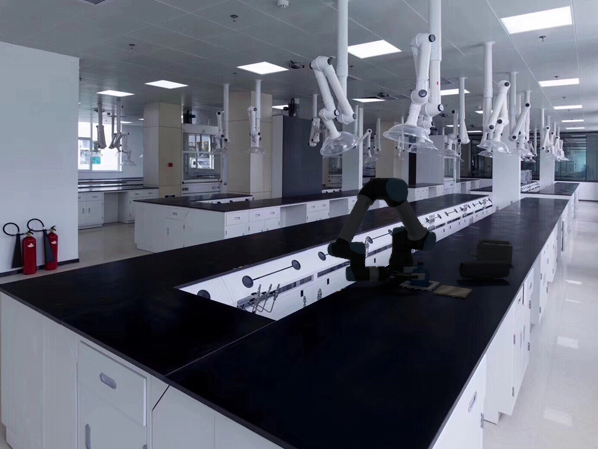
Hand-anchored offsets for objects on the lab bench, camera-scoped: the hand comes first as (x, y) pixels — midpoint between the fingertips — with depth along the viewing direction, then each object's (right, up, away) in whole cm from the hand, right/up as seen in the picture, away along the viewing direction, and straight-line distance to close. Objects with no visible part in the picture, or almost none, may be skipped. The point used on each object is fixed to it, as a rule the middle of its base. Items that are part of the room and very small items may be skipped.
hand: (420, 273), depth 216 cm
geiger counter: (+56, +1, +52) cm, 77 cm away
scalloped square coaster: (0, -6, +1) cm, 6 cm away
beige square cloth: (+12, -8, -11) cm, 18 cm away
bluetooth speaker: (+36, -5, +11) cm, 38 cm away
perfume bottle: (0, -7, +1) cm, 7 cm away
